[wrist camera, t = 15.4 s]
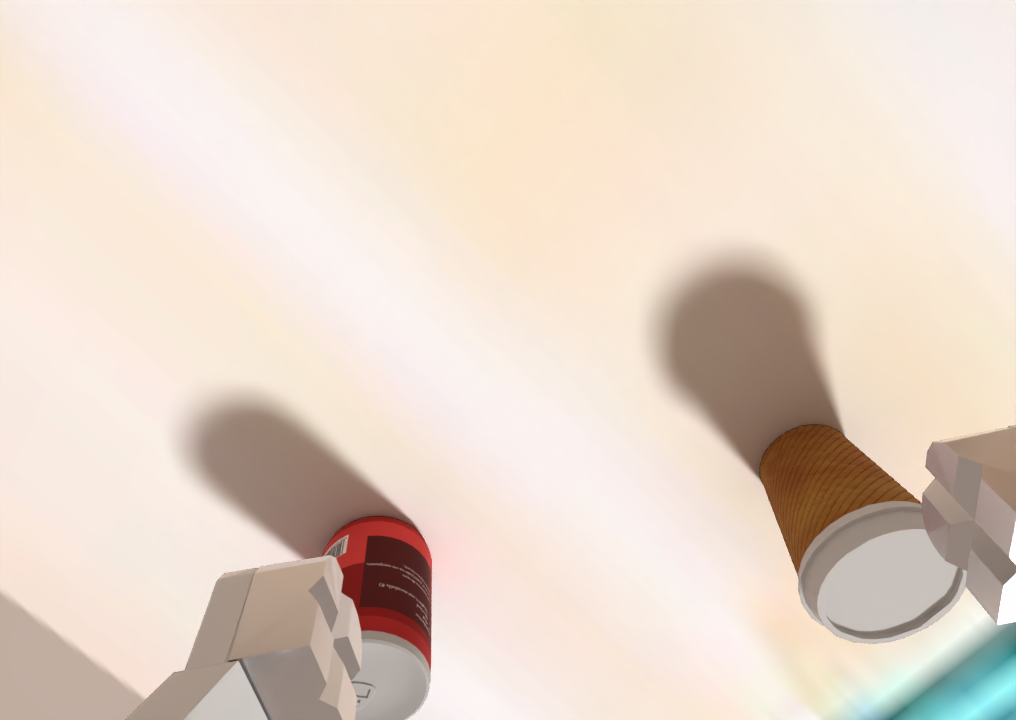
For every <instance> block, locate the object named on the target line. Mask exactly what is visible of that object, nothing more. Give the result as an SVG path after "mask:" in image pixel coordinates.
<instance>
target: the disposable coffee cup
mask: <svg viewBox="0 0 1016 720" xmlns="http://www.w3.org/2000/svg"><path fill="white" fill-rule="evenodd" d="M760 477H761V481H762V483H763V485H764V488H765V490H766V493H767V496H768V499H769V501H770V504H771V506H772V509H773V512H774V514H775V517H776V520H777V522H778V525H779V527H780V530H781V533H782V535H783V538H784V541H785V543H786V546H787V548H788V551H789V554H790V556H791V559H792V562H793V564H794V567H795V570H796V572H797V575H798V578H799V586H798V591H799V595H800V598H801V602H802V605H803V607H804V608H805V610H806V611H807V612H808V614H809V615H810V616H811V618H812V619H814V620H815V621H817V622H818V623H820V624H821V625H823V626H825V627H826V628H827V629H828V630H830V631H831V632H832V633H833V634H834V635H836V636H837V637H840V638H843V639H845V640H848V641H851V642H856V643H867V644H877V643H885V642H891V641H895V640H899V639H903V638H906V637H908V636H910V635H912V634H914V633H917V632H919V631H921V630H923V629H926V628H928V627H929V626H930V625H932V624H933V623H935V622H936V621H938V620H939V619H941V618H942V617H943V616H944V615H945V614H946V613H947V612H949V611H950V610H951V609H952V607H953V606H954V605H955V604H956V603H957V602H958V600H959V599H960V597H961V595H962V594H963V592H964V590H965V588H966V586H965V584H966V575H967V571H965V570H963V569H961V568H959V567H957V566H955V565H953V564H950V563H948V562H946V561H945V560H944V559H943V558H942V556H941V555H940V554H939V553H938V551H937V550H936V549H935V548H934V546H933V544H932V542H931V540H930V538H929V536H928V534H927V532H926V528H925V524H924V520H923V516H922V503H920V501H919V500H917V499H916V498H915V497H914V496H913V495H912V494H910V493H909V492H908V491H907V490H906V489H905V488H903V487H902V486H901V485H900V484H899V483H898V482H896V481H895V480H894V479H893V478H892V477H891V476H889V475H888V474H887V473H886V472H885V471H883V470H882V468H880V467H879V466H878V465H876V463H875V462H873V461H872V460H871V459H870V458H869V457H867V456H866V455H865V454H864V453H863V452H862V451H860V450H859V449H858V448H857V447H856V446H855V445H854V444H852V443H851V442H850V441H849V440H848V439H847V438H845V437H844V436H843V434H841V433H840V432H839V431H837V430H836V429H834V428H832V427H829V426H825V425H815V424H812V425H804V426H801V427H798V428H795V429H792V430H790V431H788V432H786V433H784V434H783V435H782V436H780V437H779V438H777V439H776V440H775V441H774V442H773V443H772V444H771V445H770V446H769V447H768V449H767V450H766V452H765V454H764V455H763V457H762V460H761V464H760Z"/></svg>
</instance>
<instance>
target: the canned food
mask: <svg viewBox="0 0 1016 720" xmlns="http://www.w3.org/2000/svg"><path fill="white" fill-rule="evenodd" d="M328 555H331V556H333V557H335V558H336V559H337V562H338V564H339V566H340V569H341V571H342V573H343V583H342V590H341V593H343V594H344V595H346V596H347V597H349V598H350V599H352V600H353V603H354V605H355V608H356V611H357V614H358V618H359V623H360V628H361V639H362V659H361V670H360V671H359V672H358V673H357V674H356V676H355V677H354V678H353V679H352V681H351V683H352V686H353V688H354V691H355V693H356V696H357V705H356V714H355V720H407V719H408V718H409V717H411V716H412V715H414V714H415V713H416V712H417V711H418V710H419V709H420V707H421V706H422V705H423V703H424V701H425V700H426V698H427V695H428V691H429V684H430V672H431V594H432V559H431V555H430V551H429V549H428V547H427V544H426V542H425V540H424V539H423V537H422V536H421V535H420V533H419V532H418V531H417V530H416V529H414V528H413V527H412V526H411V525H409V524H407V523H405V522H403V521H401V520H398V519H394V518H390V517H383V516H375V517H366V518H361V519H358V520H356V521H353V522H351V523H349V524H347V525H345V526H344V527H342V528H341V529H340V530H339V531H338V532H337V533H336V534H335V535H334V536H333V538H332V539H331V540H330V542H329V543H328V545H327V546H326V548H325V550H324V552H323V555H322V556H328Z"/></svg>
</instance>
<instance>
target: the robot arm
mask: <svg viewBox="0 0 1016 720" xmlns="http://www.w3.org/2000/svg"><path fill="white" fill-rule="evenodd" d="M925 467H926V468H927V469H928V470H929V471H930V472H931V474H932V475H933V476H934V477H935V479H934V480H933V481H932V482H931V484H930V485H929V486H928V487H927V489H926V490H925V491H924V492H923V497H922V516H923V520H924V524H925V528H926V532H927V534H928V536H929V538H930V540H931V542H932V544H933V546H934V548H935V549H936V550H937V551H938V553H939V554H940V555H941V556H942V558H943V559H944V560H945V561H946V562H948V563H950V564H953V565H955V566H957V567H959V568H961V569H963V570H965V571H967V575H966V584H965V586H966V587H967V588H968V590H969V591H970V592H971V593H972V595H973V596H974V597H975V598H976V599H977V601H978V602H979V603H980V604H981V605H982V607H983V608H984V609H985V610H986V611H987V613H988V614H989V615H990V616H991V618H992V619H993V620H994V621H995V622H996V624H1003V623H1010V622H1016V425H1012V426H1008V427H1007V428H1002V429H996V430H991V431H986V432H981V433H976V434H971V435H966V436H960V437H955V438H950V439H945V440H940V441H935V442H932V444H931V446H930V448H929V449H928V451H927V458H926V466H925ZM342 583H343V573H342V571H341V569H340V566H339V564H338V562H337V559H336V558H335V557H333V556H331V555H328V556H322V557H316V558H310V559H303V560H297V561H291V562H285V563H279V564H273V565H267V566H261V567H260V568H252V569H246V570H241V571H235V572H229V573H224V574H223V575H222V576H221V577H220V578H219V579H218V580H217V582H216V584H215V587H214V590H213V592H212V595H211V598H210V601H209V604H208V606H207V609H206V612H205V615H204V618H203V620H202V623H201V626H200V629H199V631H198V634H197V637H196V640H195V643H194V645H193V648H192V651H191V654H190V657H189V659H188V662H187V665H186V668H185V670H184V671H179V672H174V673H173V674H172V675H171V676H169V677H168V678H167V679H166V680H165V681H164V682H163V683H162V684H161V685H160V686H159V687H158V688H157V689H156V690H155V691H154V692H153V693H152V694H151V695H150V696H149V697H148V698H147V699H146V700H145V701H144V702H143V703H142V704H141V705H139V706H138V707H137V709H135V710H134V711H133V712H132V713H131V714H130V715H129V716H128V717H127V718H126V719H125V720H355V714H356V705H357V696H356V693H355V691H354V688H353V686H352V683H351V681H352V679H353V678H354V677H355V676H356V674H357V673H358V672H359V671H360V670H361V659H362V639H361V628H360V623H359V618H358V614H357V611H356V608H355V605H354V603H353V600H352V599H350V598H349V597H347V596H346V595H344V594H343V593H341V590H342Z"/></svg>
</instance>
